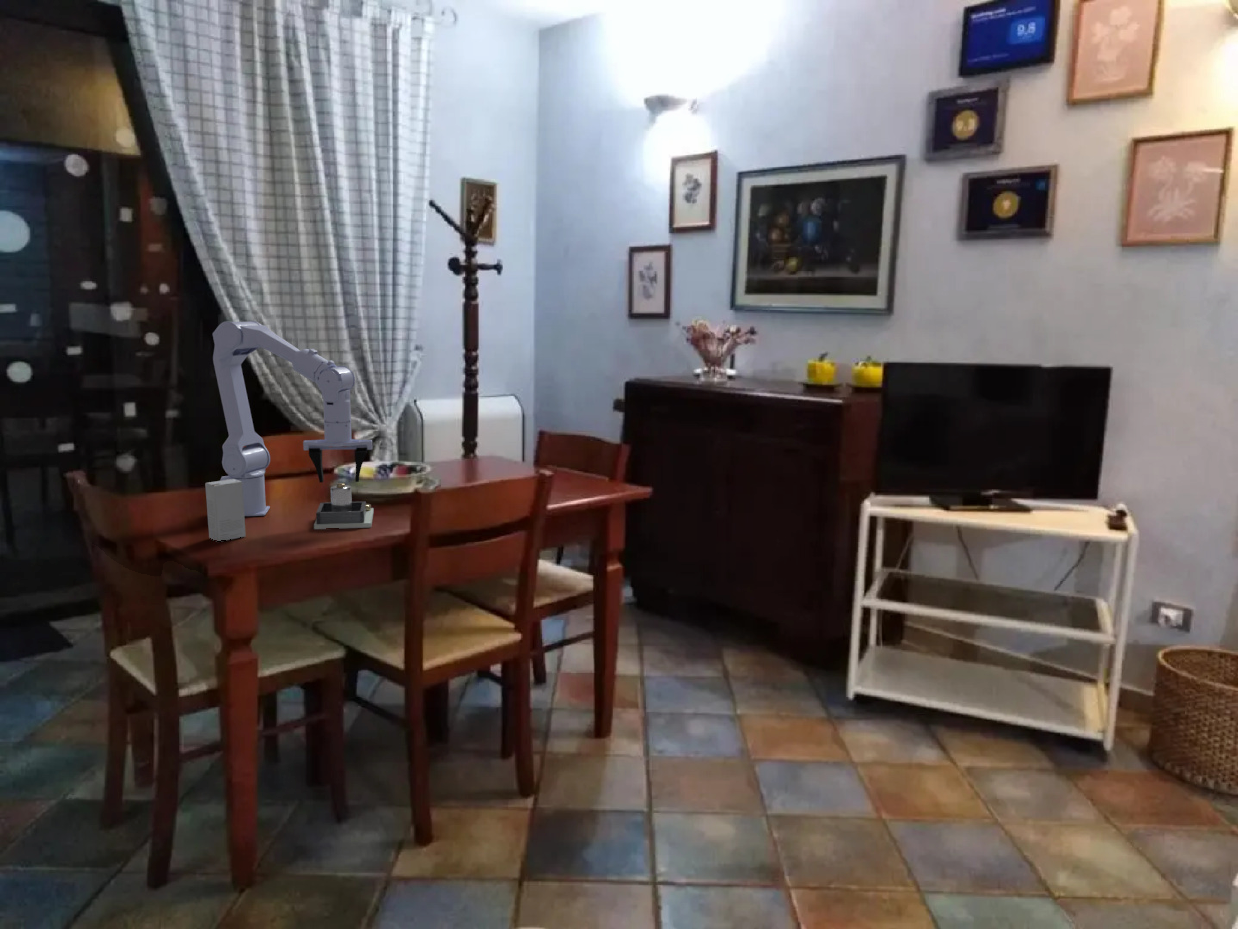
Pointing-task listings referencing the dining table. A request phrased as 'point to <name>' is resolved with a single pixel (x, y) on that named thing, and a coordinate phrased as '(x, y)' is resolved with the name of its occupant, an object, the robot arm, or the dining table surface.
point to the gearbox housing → (344, 516)
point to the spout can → (341, 498)
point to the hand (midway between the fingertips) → (339, 481)
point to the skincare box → (225, 509)
